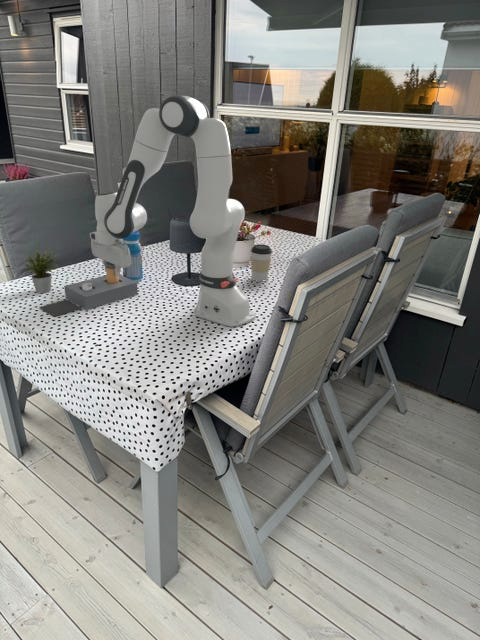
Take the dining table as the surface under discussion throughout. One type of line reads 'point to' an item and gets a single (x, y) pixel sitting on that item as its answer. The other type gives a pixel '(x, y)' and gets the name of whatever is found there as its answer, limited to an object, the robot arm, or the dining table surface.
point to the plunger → (86, 286)
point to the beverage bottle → (134, 257)
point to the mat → (60, 308)
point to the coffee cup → (260, 261)
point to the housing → (100, 292)
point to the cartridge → (111, 273)
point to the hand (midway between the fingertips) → (112, 273)
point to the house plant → (41, 272)
